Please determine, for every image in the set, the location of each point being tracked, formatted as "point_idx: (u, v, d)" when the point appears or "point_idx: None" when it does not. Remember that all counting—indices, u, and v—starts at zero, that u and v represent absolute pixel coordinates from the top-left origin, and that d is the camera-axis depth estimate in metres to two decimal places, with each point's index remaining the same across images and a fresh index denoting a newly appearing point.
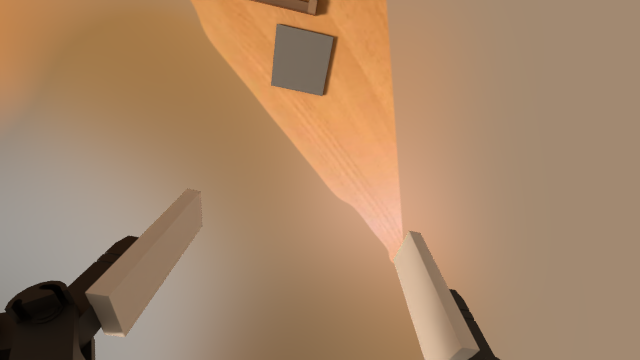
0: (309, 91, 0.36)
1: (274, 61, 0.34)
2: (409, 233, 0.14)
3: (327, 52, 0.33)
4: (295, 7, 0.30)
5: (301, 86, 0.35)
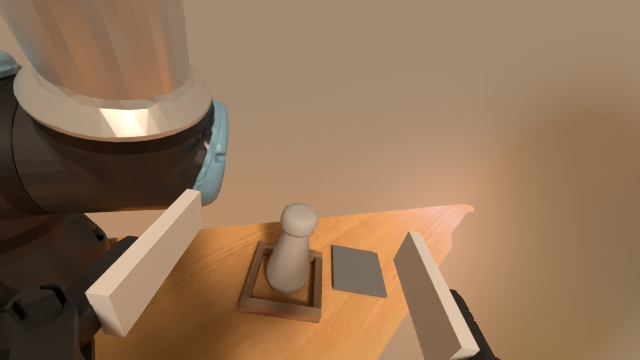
0: (377, 262, 0.39)
1: (365, 290, 0.33)
2: (409, 233, 0.14)
3: (344, 248, 0.40)
4: (321, 266, 0.34)
5: (376, 268, 0.37)
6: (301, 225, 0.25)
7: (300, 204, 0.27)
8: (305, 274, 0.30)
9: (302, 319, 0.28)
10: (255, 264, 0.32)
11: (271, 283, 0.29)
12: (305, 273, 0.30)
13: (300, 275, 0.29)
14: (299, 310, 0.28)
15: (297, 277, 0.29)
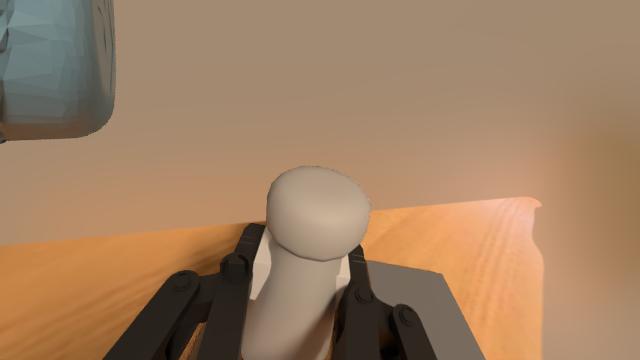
0: (448, 292, 0.22)
1: None
2: None
3: (386, 266, 0.23)
4: None
5: (450, 305, 0.20)
6: (329, 224, 0.08)
7: (320, 168, 0.10)
8: (328, 340, 0.13)
9: None
10: None
11: None
12: (328, 338, 0.13)
13: (318, 348, 0.12)
14: None
15: (310, 354, 0.12)
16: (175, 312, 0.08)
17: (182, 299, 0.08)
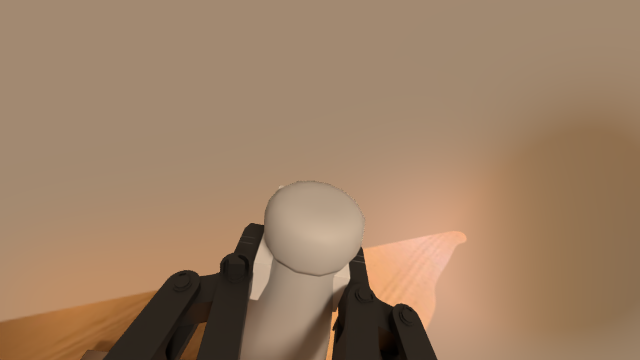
0: None
1: None
2: None
3: None
4: None
5: None
6: (325, 242, 0.08)
7: (315, 183, 0.10)
8: (325, 347, 0.13)
9: None
10: None
11: None
12: (325, 345, 0.13)
13: (316, 355, 0.12)
14: None
15: None
16: (175, 312, 0.08)
17: (182, 299, 0.08)
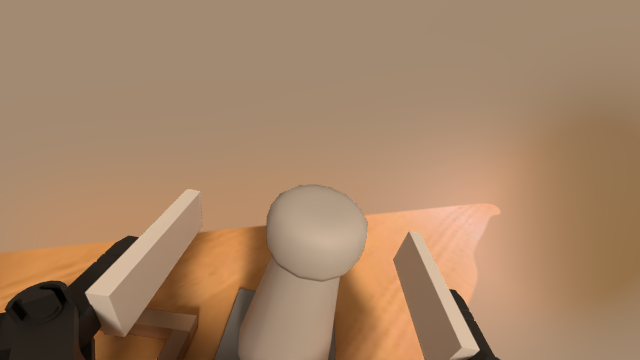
0: None
1: None
2: (409, 233, 0.14)
3: None
4: (171, 359, 0.13)
5: None
6: (328, 248, 0.08)
7: (318, 187, 0.10)
8: (327, 350, 0.13)
9: None
10: None
11: None
12: (327, 348, 0.13)
13: (318, 359, 0.12)
14: None
15: None
16: None
17: None
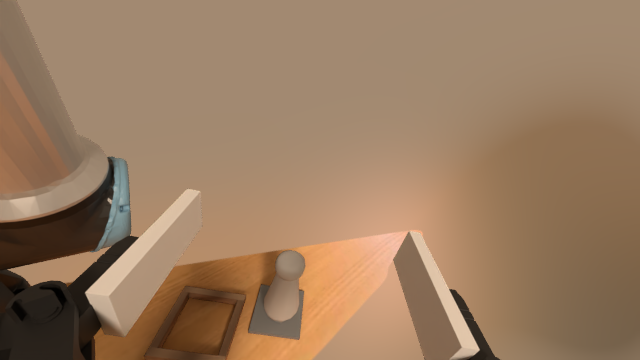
0: (301, 301, 0.41)
1: (278, 333, 0.36)
2: (409, 233, 0.14)
3: None
4: (239, 310, 0.37)
5: (298, 308, 0.40)
6: (291, 272, 0.31)
7: (291, 252, 0.34)
8: (296, 306, 0.36)
9: None
10: (173, 311, 0.35)
11: (268, 314, 0.36)
12: (296, 305, 0.36)
13: (292, 308, 0.35)
14: (202, 359, 0.30)
15: (289, 309, 0.35)
16: None
17: None
